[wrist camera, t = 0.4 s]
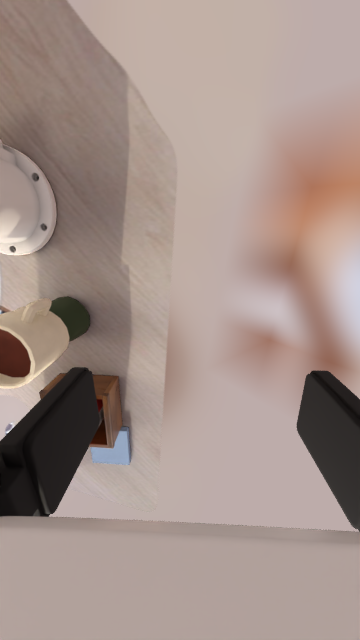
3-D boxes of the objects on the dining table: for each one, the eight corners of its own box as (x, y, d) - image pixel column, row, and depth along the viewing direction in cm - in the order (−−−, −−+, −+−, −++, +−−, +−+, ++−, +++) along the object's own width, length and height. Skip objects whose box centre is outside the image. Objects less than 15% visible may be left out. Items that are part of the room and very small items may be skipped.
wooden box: (59, 373, 36) (39, 392, 31) (119, 375, 35) (107, 395, 31) (67, 420, 39) (50, 444, 34) (123, 424, 39) (113, 448, 34)
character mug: (62, 272, 31) (-26, 288, 18) (107, 298, 31) (52, 330, 19) (37, 332, 34) (-51, 381, 22) (79, 355, 35) (16, 414, 22)
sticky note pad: (90, 424, 39) (87, 429, 38) (128, 426, 39) (126, 431, 38) (95, 457, 42) (92, 462, 41) (130, 460, 41) (129, 465, 40)
